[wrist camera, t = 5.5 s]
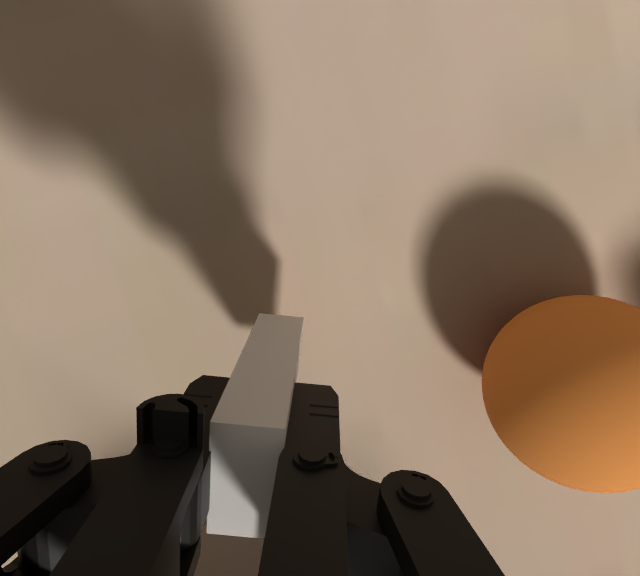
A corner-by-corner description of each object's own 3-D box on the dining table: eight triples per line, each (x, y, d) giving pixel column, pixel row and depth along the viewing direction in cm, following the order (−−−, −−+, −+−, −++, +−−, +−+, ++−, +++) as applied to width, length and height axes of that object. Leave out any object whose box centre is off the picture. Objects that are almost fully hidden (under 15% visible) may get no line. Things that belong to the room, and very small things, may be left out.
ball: (692, 492, 15) (525, 398, 19) (771, 325, 13) (565, 263, 17) (607, 579, 12) (429, 440, 16) (697, 371, 10) (465, 280, 14)
